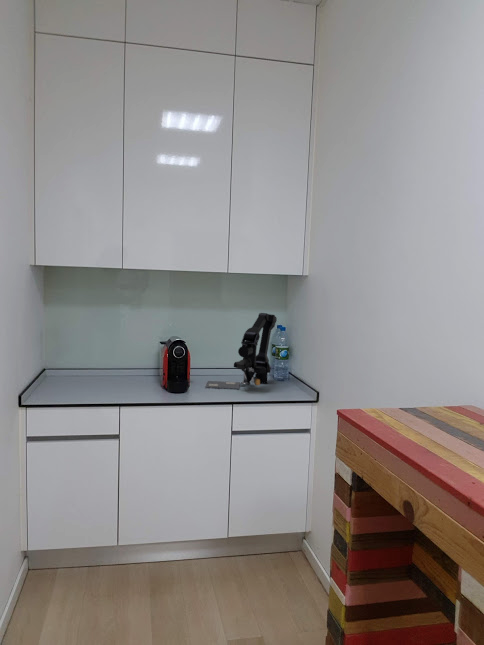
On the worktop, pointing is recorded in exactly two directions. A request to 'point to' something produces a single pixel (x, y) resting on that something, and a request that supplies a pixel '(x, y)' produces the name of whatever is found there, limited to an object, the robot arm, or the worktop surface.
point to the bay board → (222, 385)
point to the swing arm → (252, 380)
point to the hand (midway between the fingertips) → (248, 383)
